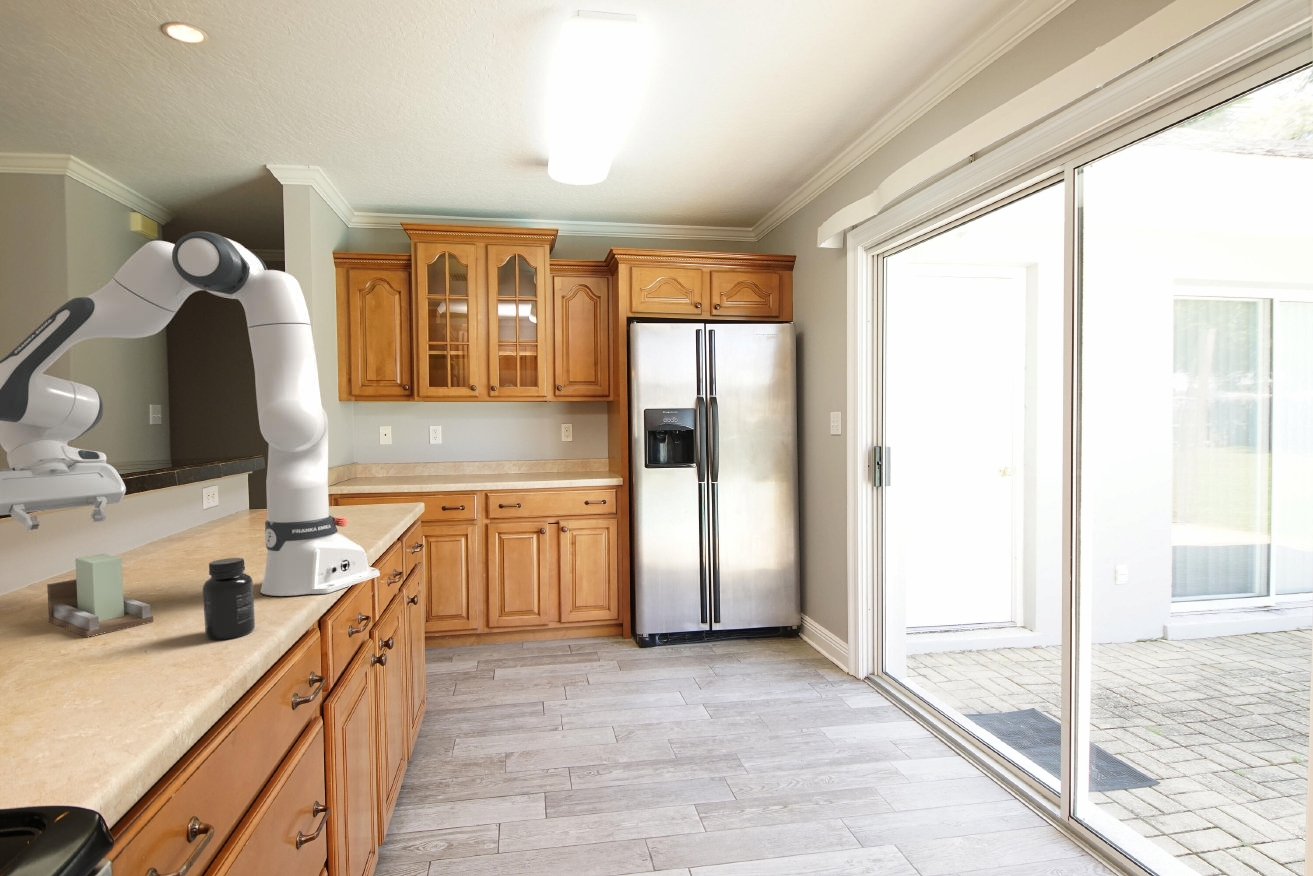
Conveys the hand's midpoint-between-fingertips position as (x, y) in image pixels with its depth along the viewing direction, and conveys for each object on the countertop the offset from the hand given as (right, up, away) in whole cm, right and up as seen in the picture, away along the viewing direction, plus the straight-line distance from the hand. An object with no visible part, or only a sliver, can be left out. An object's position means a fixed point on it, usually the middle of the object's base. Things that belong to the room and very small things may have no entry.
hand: (67, 523), depth 119 cm
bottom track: (+10, -16, -5) cm, 20 cm away
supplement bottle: (+37, -17, -12) cm, 42 cm away
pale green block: (+10, -15, -5) cm, 19 cm away
